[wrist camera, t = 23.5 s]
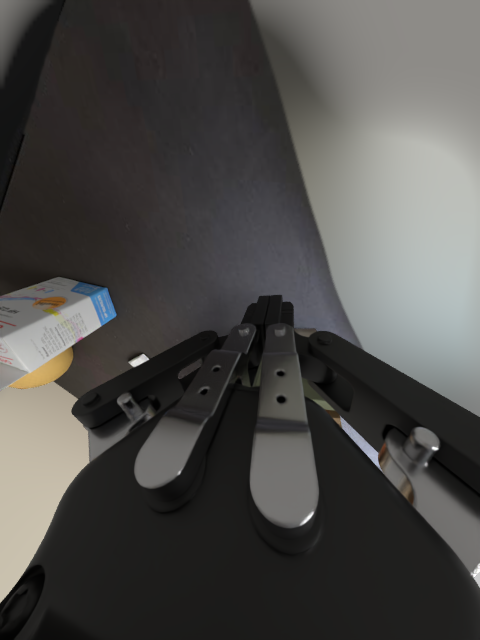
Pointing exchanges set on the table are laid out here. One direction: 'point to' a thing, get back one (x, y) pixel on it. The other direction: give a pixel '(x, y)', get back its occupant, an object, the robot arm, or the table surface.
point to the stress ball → (46, 371)
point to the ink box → (47, 323)
